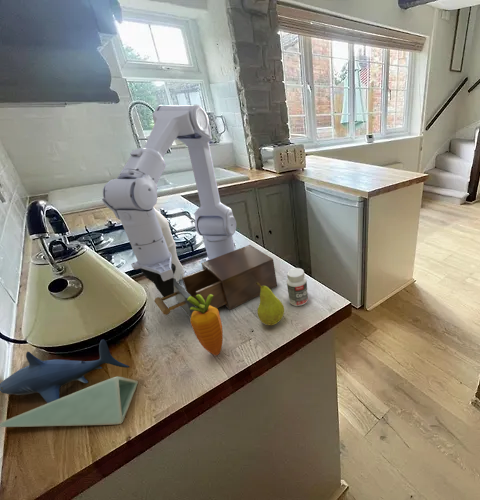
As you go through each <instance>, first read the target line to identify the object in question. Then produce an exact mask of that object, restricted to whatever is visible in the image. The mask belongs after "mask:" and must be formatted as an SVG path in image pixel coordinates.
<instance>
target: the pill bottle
mask: <svg viewBox="0 0 480 500" xmlns="http://www.w3.org/2000/svg"><path fill="white" fill-rule="evenodd" d="M286 276H287V280H286V286H287V287H286V288H287V294H288V301H289V304H290V305H291V306H296V307H301V306H303V305H305V304H307V303H308V301H309V294H308V282H307V278H306V277H305V276H306V275H305V271H304V269H302V268H300V267H294V268H290V269H289V270H288V271H287V273H286Z"/></svg>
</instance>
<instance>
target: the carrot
mask: <svg viewBox="0 0 480 500" xmlns="http://www.w3.org/2000/svg"><path fill="white" fill-rule="evenodd" d="M196 297H197V298H198V300H199V301H200V302H201V304H200V303H199V302H198V301H197V300H196V299H195V298H193V297H192V296H190V297H188V299H187V301H189V302H190V303H192V304H193V305H195V307H191V308H190V309H191V310H195V311H194V312H193V313H192V315H191V318H189V319H190V320H189V321H190V325H191V328H192V330H193V333H194V335H195V337H196V339H197V340H198V342H199V344H200V345H201V346H202V347H203V349H205V350H206V351H207V352H208V353H210V354H212V355H213V356H214V357H216V356H219V355H220V353H221V351H222V346H223V341H224V340H223V338H224V337H223V335H224V333H223V323H222V318H221V314H220V311H219V308H215V307H212V306H210V302H211V300H212V298H213V295H211V294H210V295H209V296H208V297H207V300H206V303H205V300H204V299H203V297H202V296H201V295H200V294H199V295H196Z"/></svg>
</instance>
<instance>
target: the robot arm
mask: <svg viewBox="0 0 480 500" xmlns="http://www.w3.org/2000/svg"><path fill="white" fill-rule="evenodd" d="M151 116H152V120H153V123H154V124H153V127H152V128H151V131H150V133H149V136H148V137H147V140H146V143H145V145H144V147H138V148H135V149H132V150H131V152H129V153H130V156H129V158H128V160H126V163H125V165H124V166H123V167H122V169H121V171H120V172H119V174H118V176H117V178H113V179H110V180H108V181H107V182H106V183H105V184H104V186H103V188H102V197H103V198H102V200H101V201H102V202H103V204H104V205H105V207H107V209H109V210H111V211H112V212H113V214H114V216H115V218H116V219H118V220H119V221H120V222H121V225H122V227H123V229H124V231H125V234H126V237H127V239H128V241H129V244H130V245H131V246H130V247H131V249H132V252H133V253H134V256H135V258H136V261H134V262H132V263H131V264H130V265H131V267H132V269H133V270H139V269H140V272H141V274H143V275H144V277H145V278H146V279H147V280H149V281H150V282H152V283H153V285H154V286H155V287H156V289H157V291H158V292H159V293H160V294H161V296H162V297H166V296H169V295H171V294H173V293H174V281H173V279H174V273H175V270H176V266H175V265H174V264H172V255H171V253H170V252H169V250H168V247H167V244H166V241H165V238H164V236H163V233H162V230H161V227H160V224H159V222H158V219H157V216H156V213H155V210H154V208H155V205H156V204H157V202H158V187H159V186H158V182H159V181H160V178H161V176H162V175H163V173H164V171H165V169H166V166H167V165H166V161H165V159H164V157H165V155H166V154H167V153H168V151H169V149H170V148H171V147H172V145H173V144H174V142H175V141H176V140H177V141H180V142H181V143H183V144H184V145H185V146H186V147H187V150H188V154H189V155H188V156H189V159H190V164H191V167H192V173H193V176H194V181H195V185H196V190H197V194H198V200H199V203H200V206H199V207H198V208H197V209H196V210H195V211H194V214H193V215H194V228H195V232H196V233H197V234H198V235H199V236H200V237H202V240H203V245H204V248H205V251H206V256H207V257H206V258H205V259H204V260H205V261H208V260H211V259H213V258H216V257H219V256H221V255H224V254H227V253H229V252H232V251H235V250H236V247H235V243H234V238H233V236H234V234H235V233H236V231H237V220H236V218H235V216H234V213H233V210H232V208H230V207H229V206H227V205H226V204H224V203H222V202H221V197H220V193H219V192H220V191H219V187H218V182H217V177H216V172H215V166H214V161H213V157H212V152H211V145H210V141H212V140H213V137H212V130H211V124H210V119H209V116H208V114H207V112H206V111H205V110H204V109H203V107H202V106H201V105H199V104H189V105H188V104H187V105H186V104H183V105H181V104H180V105H178V104H177V105H164V104H158V105H157V106H156V107H155V109H154V111H153V112H152V114H151ZM205 261H204V262H205Z"/></svg>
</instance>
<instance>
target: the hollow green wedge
mask: <svg viewBox="0 0 480 500" xmlns="http://www.w3.org/2000/svg"><path fill="white" fill-rule="evenodd" d="M138 383H139V381H138V380H136V379H132V378H127V377H124V376H113V377H110V378H107V379H106V380H103V381H100V382H96V383H95V384H92V385H90V386H88V387H85V388H83V389H80V390H78V391H74V392H72V393H70V394H68V395H64V396H62V397H60V399H57V400H55V401H52V402H50V403H47V402H46V403H45V404H42V405H39V406H37V407H35V408H32V409H30V410H28V411H25V412H23V413H20V414H18V415H15V416H12V417H10V418H7V419H5V420H3V421H1V422H0V428H21V427H22V428H25V427H27V428H28V427H31V428H32V427H71V426H72V427H75V426H77V427H79V426H110V425H114V426H115V425H121V424H122V423H123V422H124V421H125V417H126V415H127V413H128V410H129V407H130V405H131V402H132V400H133V397H134V394H135V392H136V389H137V386H138V385H139V384H138Z"/></svg>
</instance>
